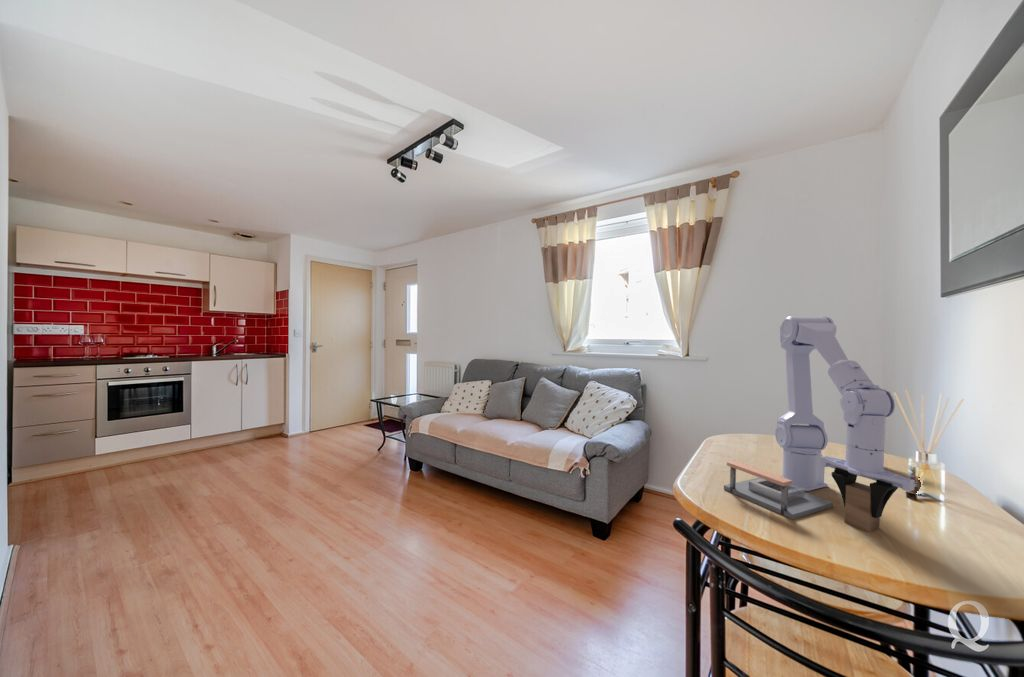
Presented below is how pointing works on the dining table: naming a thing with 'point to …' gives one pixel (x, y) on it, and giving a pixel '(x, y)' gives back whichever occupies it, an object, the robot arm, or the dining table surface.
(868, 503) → the walnut peg
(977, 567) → the dining table surface
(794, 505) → the socket board
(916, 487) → the brown figurine
